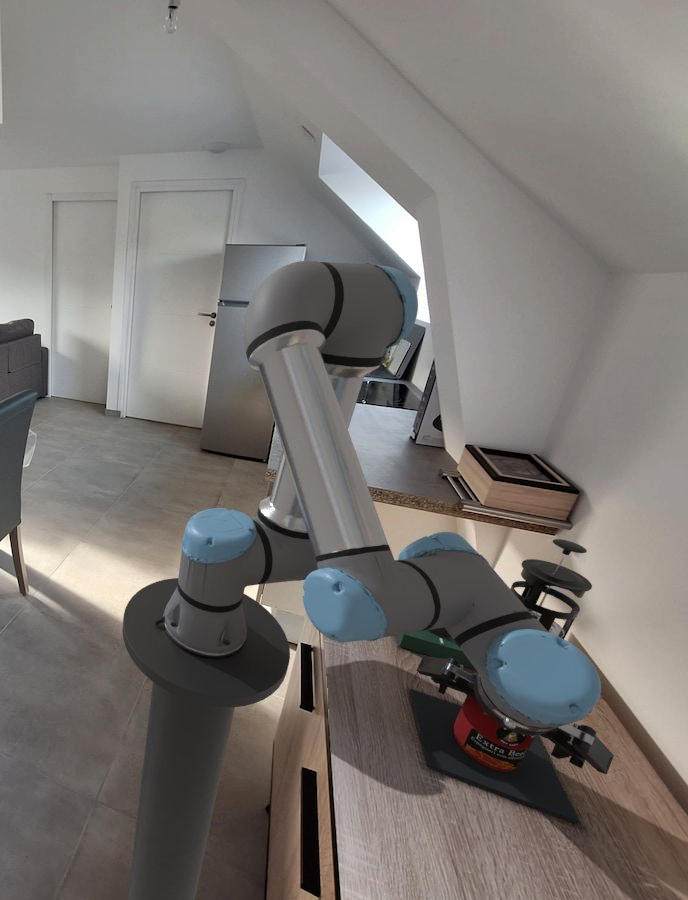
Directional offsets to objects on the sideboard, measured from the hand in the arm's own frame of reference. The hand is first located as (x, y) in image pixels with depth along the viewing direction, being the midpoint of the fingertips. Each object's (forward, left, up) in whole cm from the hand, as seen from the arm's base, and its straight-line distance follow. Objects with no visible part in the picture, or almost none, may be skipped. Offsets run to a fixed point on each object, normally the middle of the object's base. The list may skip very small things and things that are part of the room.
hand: (497, 714), depth 66 cm
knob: (-3, +21, -2) cm, 21 cm away
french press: (+12, +27, -5) cm, 30 cm away
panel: (-3, +21, -5) cm, 21 cm away
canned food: (-1, -2, -5) cm, 5 cm away
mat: (-1, -2, -5) cm, 6 cm away
